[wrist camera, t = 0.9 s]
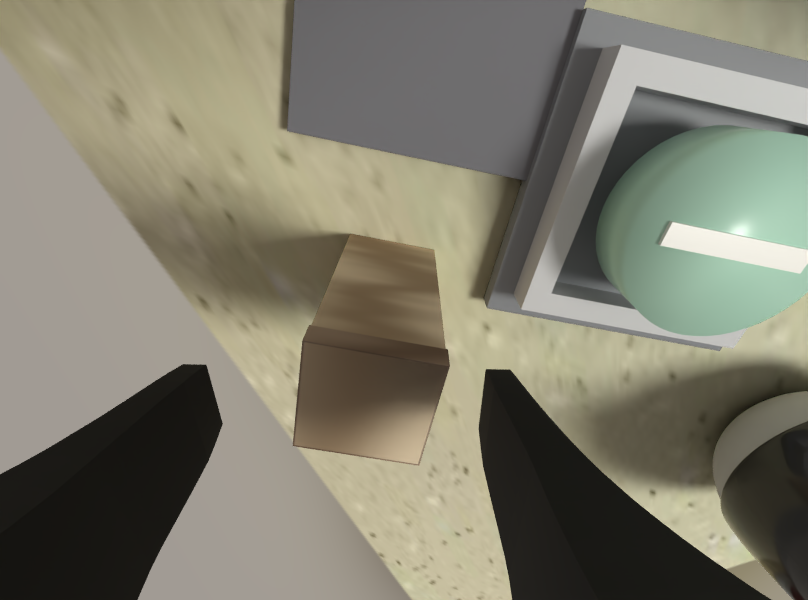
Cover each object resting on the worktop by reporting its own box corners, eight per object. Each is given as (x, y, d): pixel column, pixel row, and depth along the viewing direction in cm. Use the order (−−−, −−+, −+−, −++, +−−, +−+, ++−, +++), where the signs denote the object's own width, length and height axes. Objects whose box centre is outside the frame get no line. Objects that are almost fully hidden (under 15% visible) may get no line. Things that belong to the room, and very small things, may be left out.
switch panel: (874, 83, 16) (950, 84, 13) (707, 339, 21) (740, 369, 19) (577, 12, 15) (605, -1, 13) (483, 298, 20) (492, 324, 18)
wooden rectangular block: (435, 249, 19) (449, 365, 11) (417, 321, 21) (419, 465, 13) (349, 232, 19) (302, 340, 11) (339, 307, 21) (292, 445, 13)
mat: (626, -138, 13) (635, -148, 12) (523, 177, 18) (526, 180, 17) (312, -223, 12) (307, -236, 12) (291, 129, 17) (287, 130, 16)
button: (835, 148, 14) (917, 160, 12) (723, 317, 18) (771, 353, 15) (646, 105, 14) (694, 109, 11) (568, 287, 17) (592, 319, 15)
